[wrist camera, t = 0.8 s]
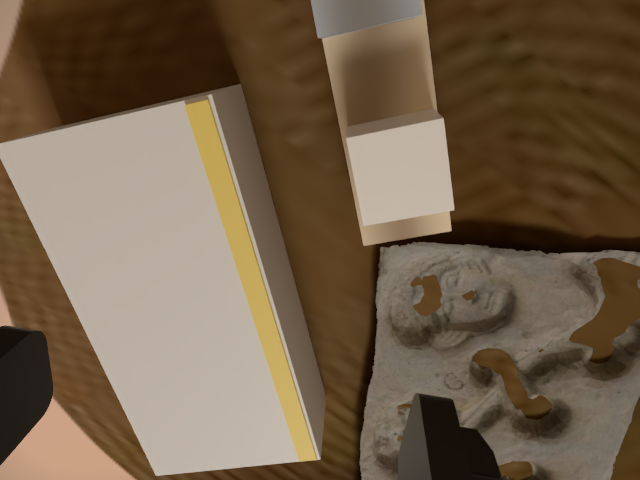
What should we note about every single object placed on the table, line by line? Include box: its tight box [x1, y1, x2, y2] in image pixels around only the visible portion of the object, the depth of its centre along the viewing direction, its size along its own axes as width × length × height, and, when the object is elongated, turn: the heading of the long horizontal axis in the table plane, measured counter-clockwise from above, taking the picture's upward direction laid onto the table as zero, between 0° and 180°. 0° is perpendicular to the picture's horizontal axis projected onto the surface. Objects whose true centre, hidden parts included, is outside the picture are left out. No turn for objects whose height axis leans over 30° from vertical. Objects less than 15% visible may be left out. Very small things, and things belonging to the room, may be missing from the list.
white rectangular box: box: [0, 84, 326, 476], centre depth 30 cm, size 12×24×6 cm, turn 13°
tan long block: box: [322, 0, 452, 246], centre depth 25 cm, size 5×18×4 cm, turn 13°
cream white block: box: [346, 108, 454, 226], centre depth 23 cm, size 4×4×3 cm
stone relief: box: [359, 242, 640, 480], centre depth 35 cm, size 32×3×20 cm
